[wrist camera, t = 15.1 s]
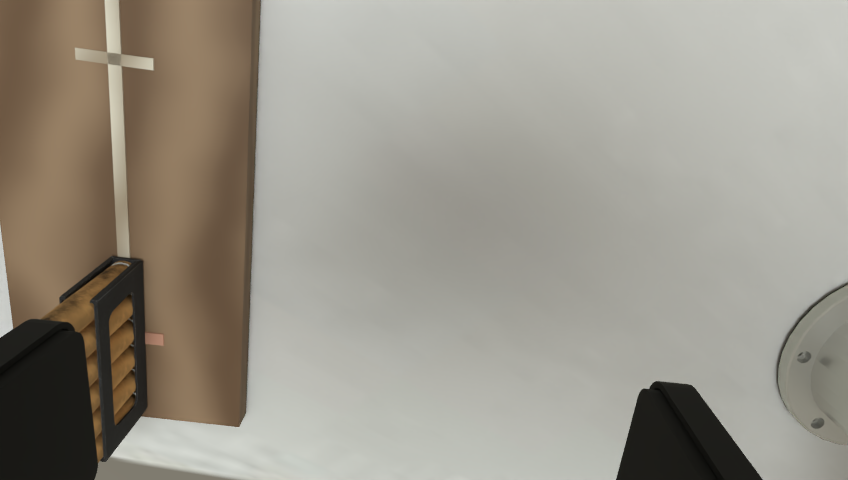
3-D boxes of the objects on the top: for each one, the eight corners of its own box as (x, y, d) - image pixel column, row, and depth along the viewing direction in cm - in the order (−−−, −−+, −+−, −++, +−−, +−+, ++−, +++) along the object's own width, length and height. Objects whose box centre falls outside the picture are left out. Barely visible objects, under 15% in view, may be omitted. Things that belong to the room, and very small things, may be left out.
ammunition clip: (147, 410, 37) (25, 575, 26) (118, 406, 37) (-17, 571, 25) (142, 259, 33) (-2, 374, 22) (110, 255, 33) (-51, 368, 22)
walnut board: (261, -33, 29) (252, -37, 28) (245, 412, 39) (238, 428, 37) (-15, -75, 29) (-39, -81, 27) (37, 389, 38) (21, 403, 37)
